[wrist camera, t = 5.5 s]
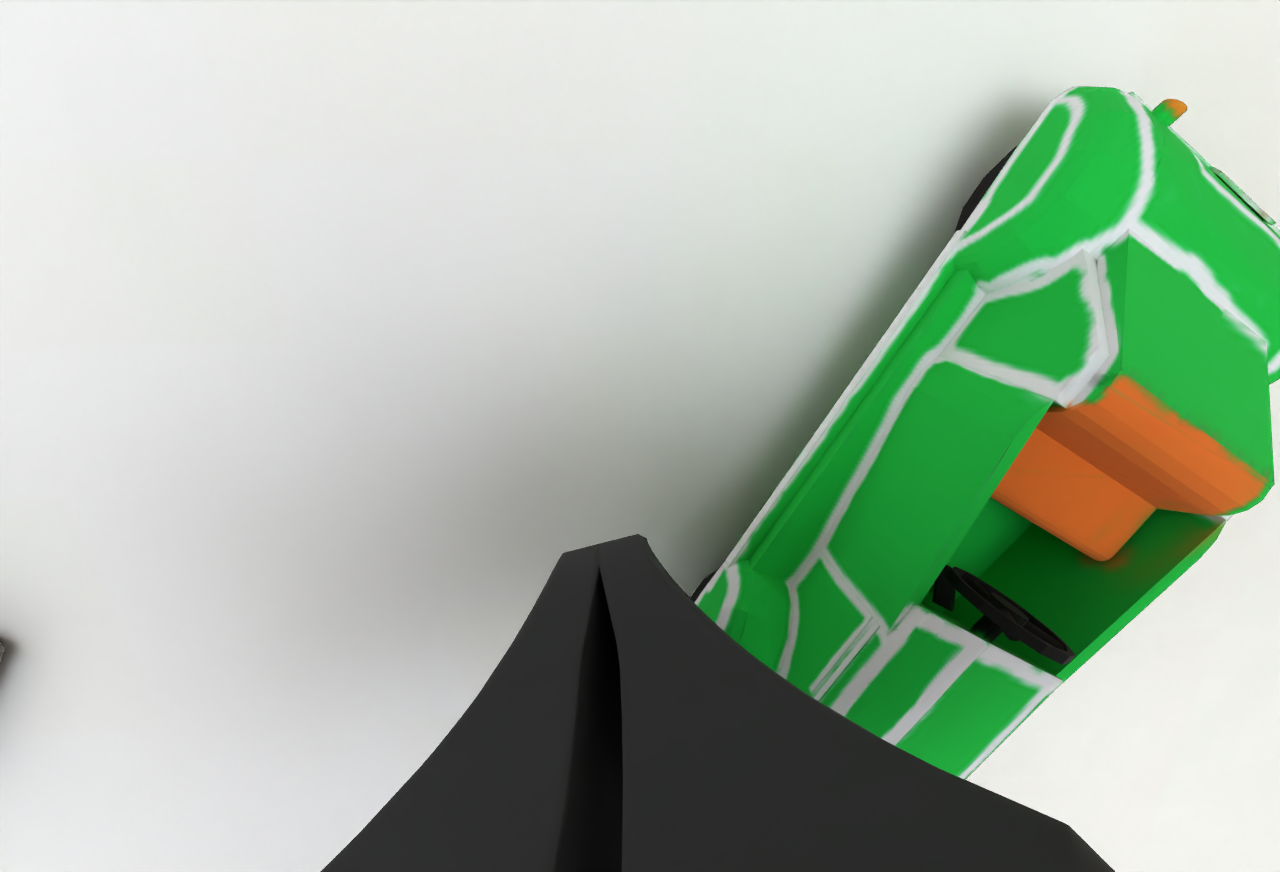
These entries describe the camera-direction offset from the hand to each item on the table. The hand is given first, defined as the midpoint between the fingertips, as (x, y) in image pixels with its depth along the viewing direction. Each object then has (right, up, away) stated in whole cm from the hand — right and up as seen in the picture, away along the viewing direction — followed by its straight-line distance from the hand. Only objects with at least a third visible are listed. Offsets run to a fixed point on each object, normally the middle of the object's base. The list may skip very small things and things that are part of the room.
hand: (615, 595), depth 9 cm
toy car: (+5, +2, +2) cm, 6 cm away
